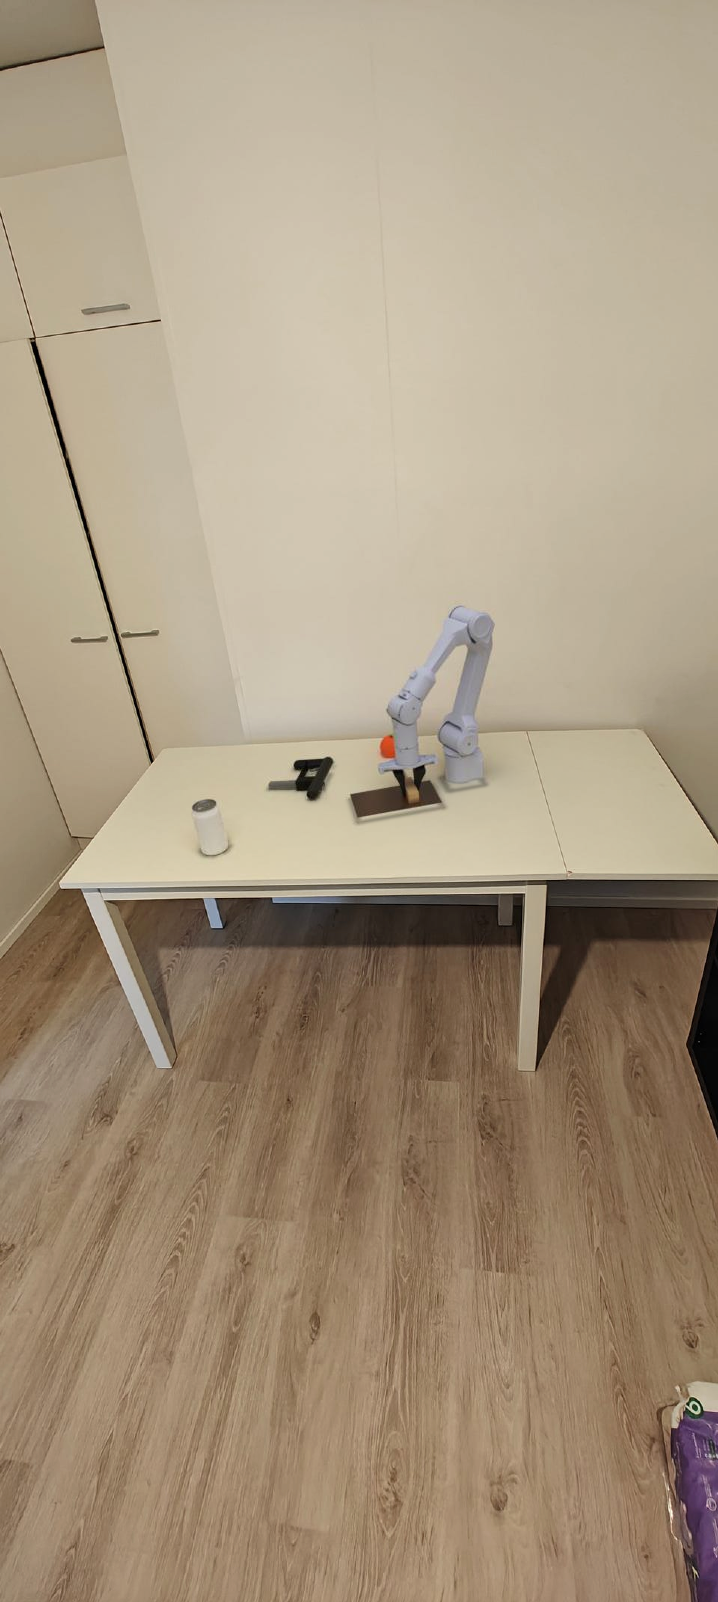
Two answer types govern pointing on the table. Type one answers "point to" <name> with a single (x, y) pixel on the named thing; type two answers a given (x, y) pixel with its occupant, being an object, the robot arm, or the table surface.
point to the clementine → (388, 746)
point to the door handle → (307, 777)
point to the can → (209, 827)
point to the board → (391, 799)
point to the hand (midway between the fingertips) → (410, 793)
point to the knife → (411, 790)
